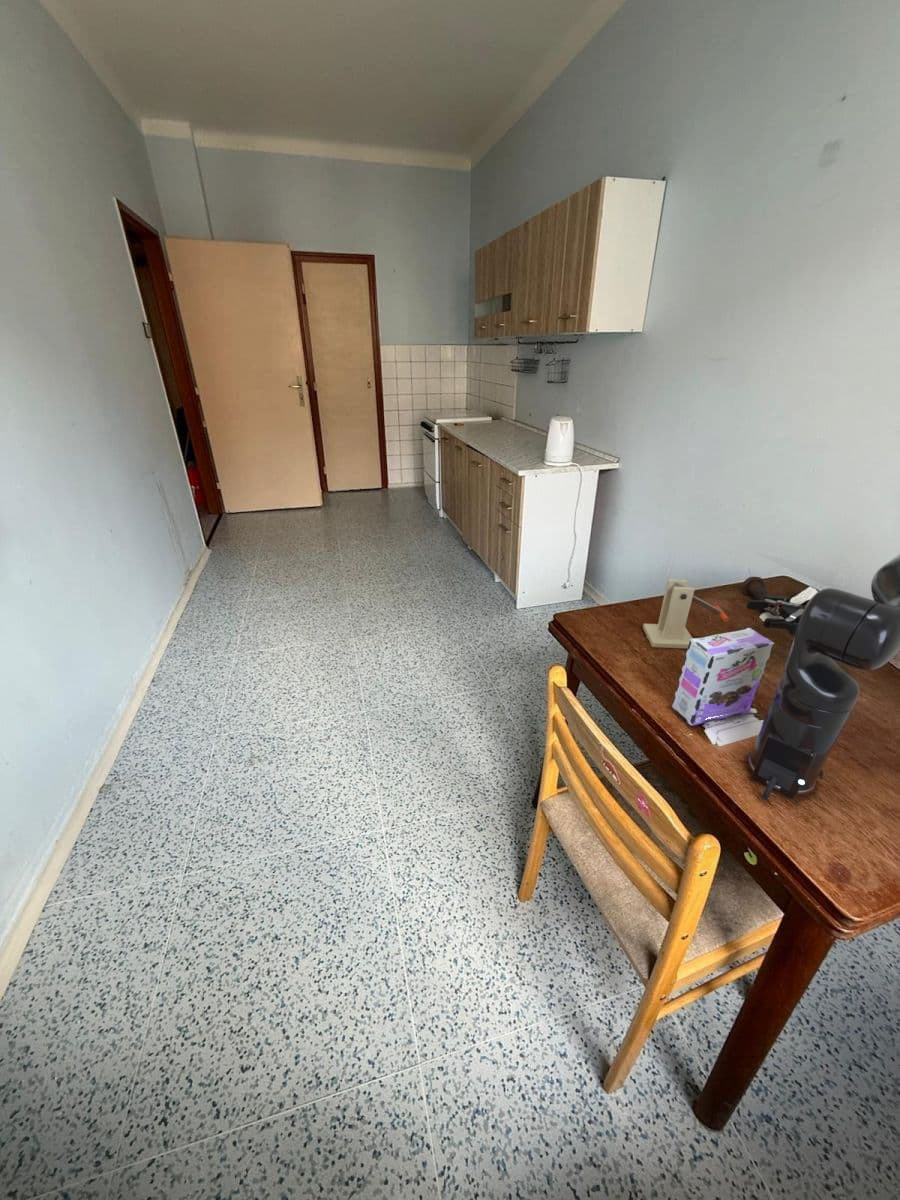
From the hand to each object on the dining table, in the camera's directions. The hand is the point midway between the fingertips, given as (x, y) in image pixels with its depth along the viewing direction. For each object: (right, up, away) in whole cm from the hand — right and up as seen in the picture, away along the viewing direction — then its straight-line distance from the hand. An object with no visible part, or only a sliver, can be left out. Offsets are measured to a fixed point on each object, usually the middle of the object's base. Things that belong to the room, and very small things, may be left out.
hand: (756, 613), depth 110 cm
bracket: (-18, -6, +5) cm, 20 cm away
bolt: (+14, +2, +19) cm, 24 cm away
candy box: (-21, -19, -17) cm, 33 cm away
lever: (-14, +2, +1) cm, 14 cm away
